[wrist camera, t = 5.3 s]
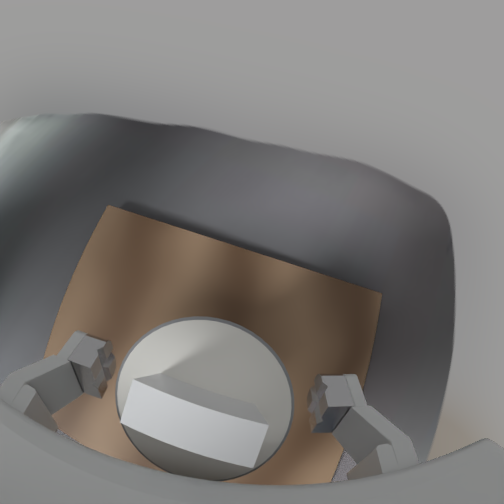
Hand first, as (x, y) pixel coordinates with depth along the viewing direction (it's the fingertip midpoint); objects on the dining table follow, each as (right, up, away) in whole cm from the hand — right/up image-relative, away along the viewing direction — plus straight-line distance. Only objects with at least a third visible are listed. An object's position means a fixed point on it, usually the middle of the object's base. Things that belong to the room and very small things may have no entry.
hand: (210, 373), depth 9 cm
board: (-2, -3, +6) cm, 7 cm away
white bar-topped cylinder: (-1, -3, +5) cm, 6 cm away
